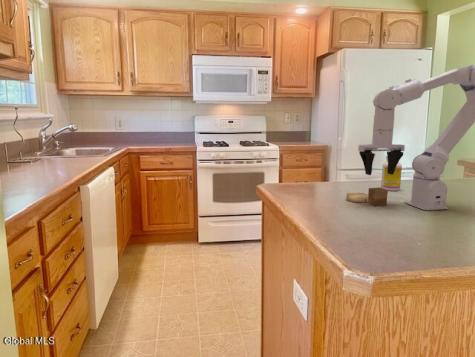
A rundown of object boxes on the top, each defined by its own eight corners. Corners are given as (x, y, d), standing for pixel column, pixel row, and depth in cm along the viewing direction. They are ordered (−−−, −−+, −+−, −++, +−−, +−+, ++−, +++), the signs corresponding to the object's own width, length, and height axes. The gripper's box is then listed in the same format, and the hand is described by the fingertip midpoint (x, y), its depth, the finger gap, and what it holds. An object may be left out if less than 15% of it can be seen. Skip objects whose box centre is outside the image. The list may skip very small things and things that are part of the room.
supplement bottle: (402, 191, 130) (406, 156, 128) (384, 191, 130) (387, 156, 128) (395, 187, 137) (398, 154, 135) (378, 187, 137) (380, 154, 135)
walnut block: (386, 205, 109) (387, 190, 108) (374, 206, 108) (376, 190, 108) (378, 202, 113) (380, 187, 112) (367, 203, 112) (368, 188, 111)
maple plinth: (371, 202, 113) (371, 196, 113) (352, 203, 112) (353, 197, 112) (360, 197, 120) (360, 191, 119) (342, 198, 118) (343, 192, 118)
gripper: (396, 129, 113) (392, 171, 115) (354, 129, 110) (351, 172, 113) (410, 130, 106) (406, 175, 108) (366, 130, 103) (363, 176, 106)
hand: (379, 174), depth 110 cm, fingers open, 7 cm apart
